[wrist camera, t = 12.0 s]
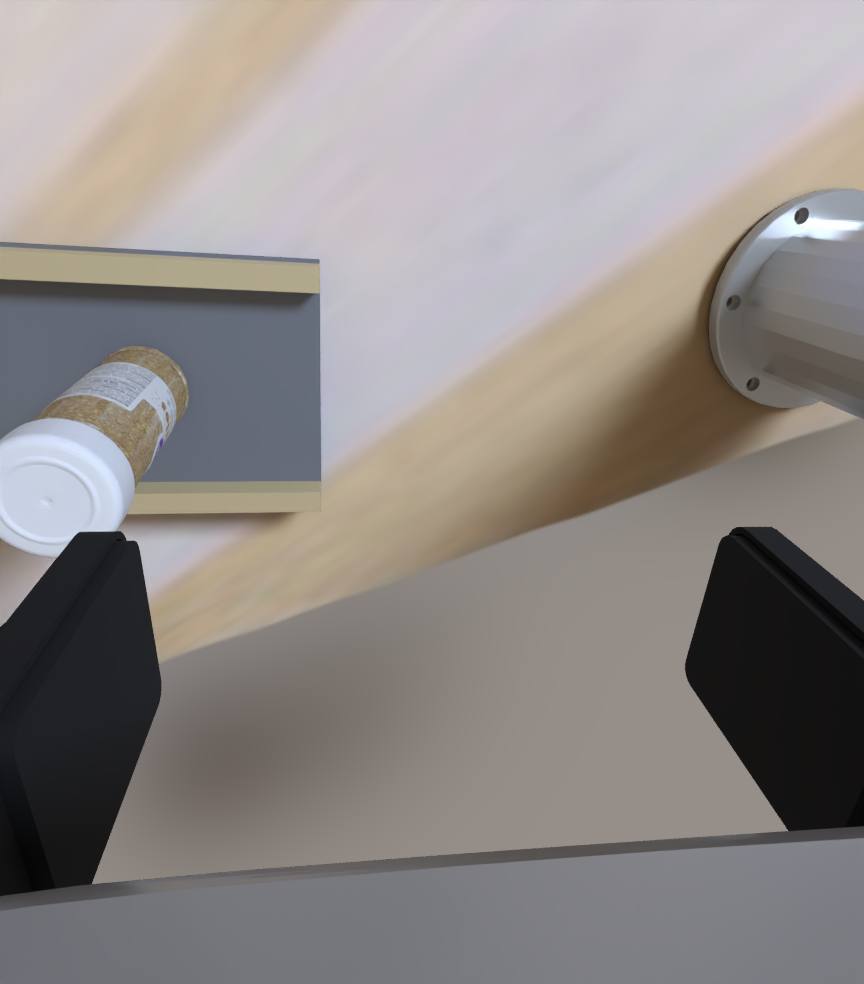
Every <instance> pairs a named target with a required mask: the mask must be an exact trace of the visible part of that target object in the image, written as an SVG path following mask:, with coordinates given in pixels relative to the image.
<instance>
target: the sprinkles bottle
mask: <svg viewBox="0 0 864 984" xmlns="http://www.w3.org/2000/svg"><path fill="white" fill-rule="evenodd" d="M188 402H189V388H188V383H187V379H186V377H185V375H184V373H183V372H182V370H181V368H180V367H179V366H178V365H177V364H176V363H175V362H174V361H173V360H172V359H171V358H169V357H168V356H167V355H165V354H163V353H162V352H160V351H159V350H157V349H153V348H148V347H144V346H128V347H123V348H120V349H118V350H116V351H114V352H113V353H111V354H109V355H108V356H107V357H106V358H105V359H104V360H103V361H102V362H101V364H100V365H99V367H96V368H95V369H93V370H91V371H90V372H89V373H87V374H86V375H85V376H84V377H82V378H81V379H80V380H79V381H77V382H76V383H75V384H74V385H72V386H71V387H70V388H69V389H67V390H66V391H65V392H64V393H63V394H61V395H60V396H59V397H58V398H56V399H55V400H54V401H53V402H52V403H50V404H49V405H48V406H47V407H46V408H45V409H44V410H43V411H42V412H41V414H40V415H39V416H37V417H36V418H35V419H34V420H33V421H31V422H28V423H25V424H23V425H21V426H19V427H17V428H15V429H14V430H12V431H11V432H9V433H8V434H7V435H5V436H4V437H3V438H2V439H0V538H1V539H2V540H3V541H5V542H6V543H8V544H10V545H11V546H13V547H15V548H17V549H19V550H21V551H24V552H27V553H30V554H33V555H37V556H42V557H49V558H57V557H58V556H59V555H60V554H61V552H62V551H63V550H64V549H65V547H66V546H67V545H68V544H69V542H70V541H71V540H72V539H73V537H74V536H75V535H76V534H77V533H78V532H108V531H116V530H117V529H118V527H119V526H120V524H121V523H122V521H123V519H124V518H125V516H126V514H127V513H128V511H129V509H130V507H131V504H132V502H133V498H134V491H135V488H136V486H137V484H138V483H139V481H140V479H141V478H142V476H143V475H144V474H145V473H146V471H147V470H148V469H149V467H150V466H151V464H152V462H153V460H154V459H155V457H156V455H157V454H158V452H159V451H160V449H161V447H162V446H163V444H164V443H165V441H166V440H167V438H168V437H169V435H170V433H171V432H172V430H173V427H174V425H175V424H176V423H177V422H178V421H179V420H180V419H181V418H182V416H183V415H184V413H185V411H186V409H187V407H188Z"/></svg>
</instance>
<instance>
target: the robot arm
mask: <svg viewBox="0 0 864 984" xmlns="http://www.w3.org/2000/svg"><path fill="white" fill-rule="evenodd" d="M727 300H728V301H727ZM726 302H727V303H726ZM709 338H710V347H711V351H712V354H713V358H714V362H715V364H716V366H717V368H718V369H719V371H720V373H721V375H722V377H723V378H724V379H725V380H726V381H727V382H728V384H729V385H730V386H731V387H732V388H733V389H734V390H736V391H737V392H739V393H740V394H742V395H743V396H745V397H746V398H749V399H751V400H753V401H755V402H757V403H759V404H762V405H766V406H771V407H775V408H796V407H801V406H807V405H811V404H814V403H817V402H819V401H822V402H824V403H826V404H829V405H831V406H833V407H836V408H838V409H840V410H843V411H845V412H847V413H850V414H852V415H854V416H857V417H859V418H861V419H864V191H860V190H856V189H827V190H821V191H814V192H811V193H808V194H805V195H803V196H800V197H797V198H794V199H792V200H790V201H789V202H787V203H785V204H784V205H782V206H780V207H779V208H777V209H775V210H774V211H772V212H771V213H770V214H769V215H767V216H766V217H765V218H764V219H763V220H761V221H760V222H759V223H758V224H757V225H755V227H754V228H753V229H752V230H751V231H750V232H749V233H748V234H747V236H746V237H745V238H744V239H743V240H742V241H741V242H740V244H739V245H738V247H737V248H736V250H735V251H734V253H733V254H732V256H731V257H730V259H729V260H728V262H727V264H726V266H725V268H724V270H723V272H722V274H721V277H720V279H719V281H718V283H717V286H716V290H715V293H714V297H713V300H712V304H711V310H710V319H709ZM685 671H686V676H687V679H688V682H689V684H690V685H691V687H692V688H693V690H694V691H695V693H696V694H697V696H698V697H699V699H700V700H701V702H702V703H703V705H704V706H705V708H706V709H707V710H708V712H709V714H710V715H711V717H712V718H713V720H714V721H715V723H716V724H717V726H718V727H719V728H720V730H721V731H722V733H723V734H724V736H725V737H726V739H727V740H728V742H729V743H730V745H731V746H732V748H733V749H734V751H735V752H736V754H737V755H738V757H739V758H740V760H741V761H742V763H743V764H744V765H745V767H746V768H747V770H748V771H749V773H750V774H751V776H752V777H753V779H754V780H755V782H756V783H757V785H758V786H759V788H760V789H761V791H762V792H763V794H764V795H765V797H766V798H767V800H768V801H769V802H770V804H771V806H772V807H773V809H774V810H775V812H776V813H777V815H778V816H779V817H780V818H781V820H782V822H783V823H784V825H785V826H786V828H787V829H788V831H786V832H770V833H755V834H738V835H723V836H708V837H693V838H679V839H664V840H649V841H635V842H621V843H606V844H591V845H577V846H564V847H550V848H537V849H536V848H535V849H522V850H508V851H494V852H480V853H467V854H452V855H439V856H426V857H412V858H399V859H386V860H374V861H361V862H347V863H334V864H321V865H308V866H295V867H282V868H269V869H256V870H243V871H231V872H219V873H209V874H199V875H187V876H176V877H166V878H155V879H144V880H134V881H124V882H112V883H101V884H92V881H93V879H94V876H95V873H96V871H97V868H98V865H99V863H100V860H101V857H102V854H103V852H104V849H105V847H106V844H107V841H108V839H109V836H110V833H111V830H112V828H113V825H114V823H115V820H116V817H117V815H118V812H119V809H120V807H121V804H122V801H123V799H124V796H125V793H126V790H127V788H128V785H129V783H130V780H131V777H132V775H133V772H134V769H135V766H136V764H137V761H138V759H139V755H140V753H141V750H142V748H143V745H144V743H145V740H146V737H147V734H148V732H149V729H150V726H151V724H152V721H153V718H154V716H155V713H156V710H157V708H158V705H159V702H160V696H161V676H160V671H159V664H158V658H157V652H156V646H155V640H154V634H153V628H152V622H151V616H150V610H149V604H148V598H147V592H146V586H145V580H144V574H143V568H142V562H141V556H140V550H139V546H138V544H137V542H135V541H126V538H125V536H124V534H123V533H122V532H121V531H108V532H78V533H77V534H76V535H75V536H74V537H73V539H72V540H71V541H70V542H69V544H68V545H67V546H66V547H65V549H64V550H63V551H62V552H61V554H60V555H59V556H58V557H57V559H56V560H55V561H54V562H53V564H52V565H51V566H50V567H49V569H48V570H47V571H46V573H45V574H44V575H43V576H42V578H41V579H40V580H39V581H38V583H37V584H36V585H35V586H34V588H33V589H32V590H31V591H30V593H29V594H28V595H27V596H26V598H25V599H24V600H23V601H22V603H21V604H20V605H19V607H18V608H17V609H16V610H15V612H14V613H13V614H12V615H11V617H10V618H9V619H8V620H7V622H6V623H4V624H3V625H2V626H1V627H0V984H864V601H863V600H862V599H861V598H860V597H859V596H857V595H856V594H855V593H853V592H852V591H851V590H850V589H849V588H848V587H846V586H845V585H844V584H843V583H841V582H840V581H839V580H838V579H836V578H835V577H834V576H833V575H831V574H830V573H829V572H828V571H827V570H825V569H824V568H823V567H822V566H821V565H819V564H818V563H817V562H816V561H814V560H813V559H812V558H811V557H809V556H808V555H807V554H806V553H805V552H803V551H802V550H801V549H800V548H798V547H797V546H796V545H794V544H793V543H792V542H791V541H790V540H789V539H787V538H786V537H784V535H782V534H781V533H780V532H779V531H778V530H776V529H774V528H772V527H736V528H735V529H733V530H732V531H731V532H730V533H729V535H728V536H725V537H723V538H722V539H721V541H720V543H719V546H718V550H717V553H716V556H715V560H714V564H713V567H712V570H711V574H710V578H709V581H708V585H707V588H706V592H705V595H704V599H703V602H702V606H701V609H700V613H699V616H698V620H697V623H696V627H695V630H694V634H693V637H692V641H691V644H690V648H689V651H688V655H687V659H686V663H685Z"/></svg>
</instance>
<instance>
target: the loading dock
mask: <svg viewBox="0 0 864 984" xmlns="http://www.w3.org/2000/svg"><path fill="white" fill-rule="evenodd" d="M128 346H144V347H148V348H153V349H157V350H159V351H160V352H162V353H163V354H165V355H167V356H168V357H169V358H171V359H172V360H173V361H174V362H175V363H176V364H177V365H178V366H179V367H180V368H181V370H182V372H183V373H184V375H185V377H186V379H187V383H188V388H189V402H188V407H187V409H186V411H185V413H184V415H183V416H182V418H181V419H180V420H179V421H178V422H177V423H176V424H175V425H174V427H173V430H172V432H171V433H170V435H169V437H168V438H167V440H166V441H165V443H164V444H163V446H162V447H161V449H160V451H159V452H158V454H157V455H156V457H155V459H154V460H153V462H152V464H151V466H150V467H149V469H148V470H147V471H146V473H145V474H144V475H143V476H142V478H141V479H140V481H139V483H138V484H137V486H136V488H135V491H134V498H133V502H132V504H131V507H130V509H129V511H128V513H127V514H187V513H262V512H321V420H320V269H319V259H301V258H282V257H264V256H246V255H227V254H209V253H191V252H172V251H154V250H136V249H117V248H99V247H81V246H62V245H44V244H26V243H8V242H0V439H2V438H3V437H4V436H5V435H7V434H8V433H9V432H11V431H12V430H14V429H15V428H17V427H19V426H21V425H23V424H25V423H28V422H31V421H33V420H34V419H35V418H36V417H37V416H39V415H40V414H41V412H42V411H43V410H44V409H45V408H46V407H47V406H48V405H49V404H50V403H52V402H53V401H54V400H55V399H56V398H58V397H59V396H60V395H61V394H63V393H64V392H65V391H66V390H67V389H69V388H70V387H71V386H72V385H74V384H75V383H76V382H77V381H79V380H80V379H81V378H82V377H84V376H85V375H86V374H87V373H89V372H90V371H91V370H93V369H95V368H96V367H99V365H100V364H101V362H102V361H103V360H104V359H105V358H106V357H107V356H108V355H109V354H111V353H113V352H114V351H116V350H118V349H120V348H123V347H128Z"/></svg>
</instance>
